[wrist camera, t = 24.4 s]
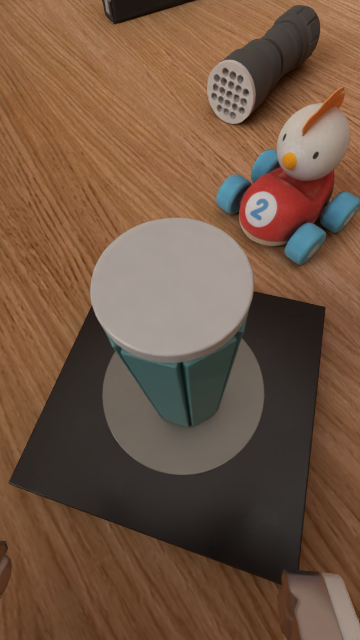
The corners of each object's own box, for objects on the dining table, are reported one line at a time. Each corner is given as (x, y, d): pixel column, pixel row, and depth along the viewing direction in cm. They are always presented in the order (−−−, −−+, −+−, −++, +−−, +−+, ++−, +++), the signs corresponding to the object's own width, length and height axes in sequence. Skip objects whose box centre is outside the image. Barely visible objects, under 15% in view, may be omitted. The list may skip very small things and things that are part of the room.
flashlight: (275, 52, 39) (287, -7, 34) (315, 64, 37) (333, 3, 33) (206, 114, 34) (207, 55, 29) (248, 130, 32) (257, 71, 28)
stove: (288, 581, 16) (298, 593, 14) (21, 482, 19) (4, 484, 17) (318, 316, 23) (327, 304, 21) (117, 271, 25) (111, 258, 24)
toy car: (208, 216, 28) (213, 93, 19) (273, 167, 30) (305, 38, 21) (290, 277, 24) (344, 164, 15) (356, 218, 27) (437, 89, 18)
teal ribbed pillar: (212, 434, 18) (234, 377, 7) (140, 413, 18) (61, 330, 8) (229, 363, 20) (267, 231, 9) (163, 346, 20) (124, 205, 10)
